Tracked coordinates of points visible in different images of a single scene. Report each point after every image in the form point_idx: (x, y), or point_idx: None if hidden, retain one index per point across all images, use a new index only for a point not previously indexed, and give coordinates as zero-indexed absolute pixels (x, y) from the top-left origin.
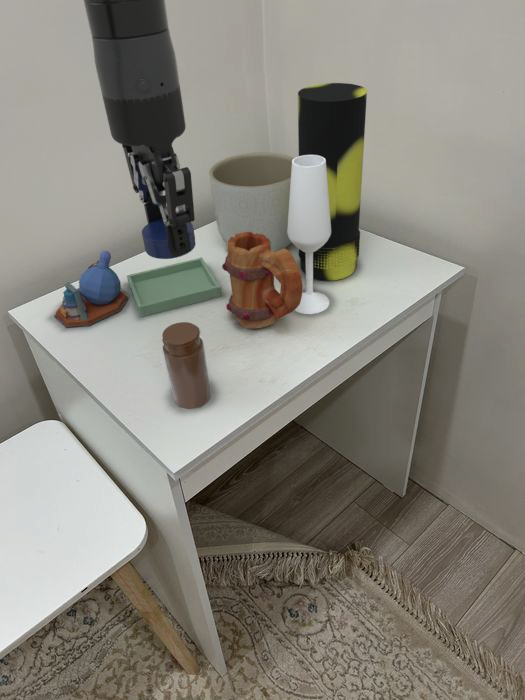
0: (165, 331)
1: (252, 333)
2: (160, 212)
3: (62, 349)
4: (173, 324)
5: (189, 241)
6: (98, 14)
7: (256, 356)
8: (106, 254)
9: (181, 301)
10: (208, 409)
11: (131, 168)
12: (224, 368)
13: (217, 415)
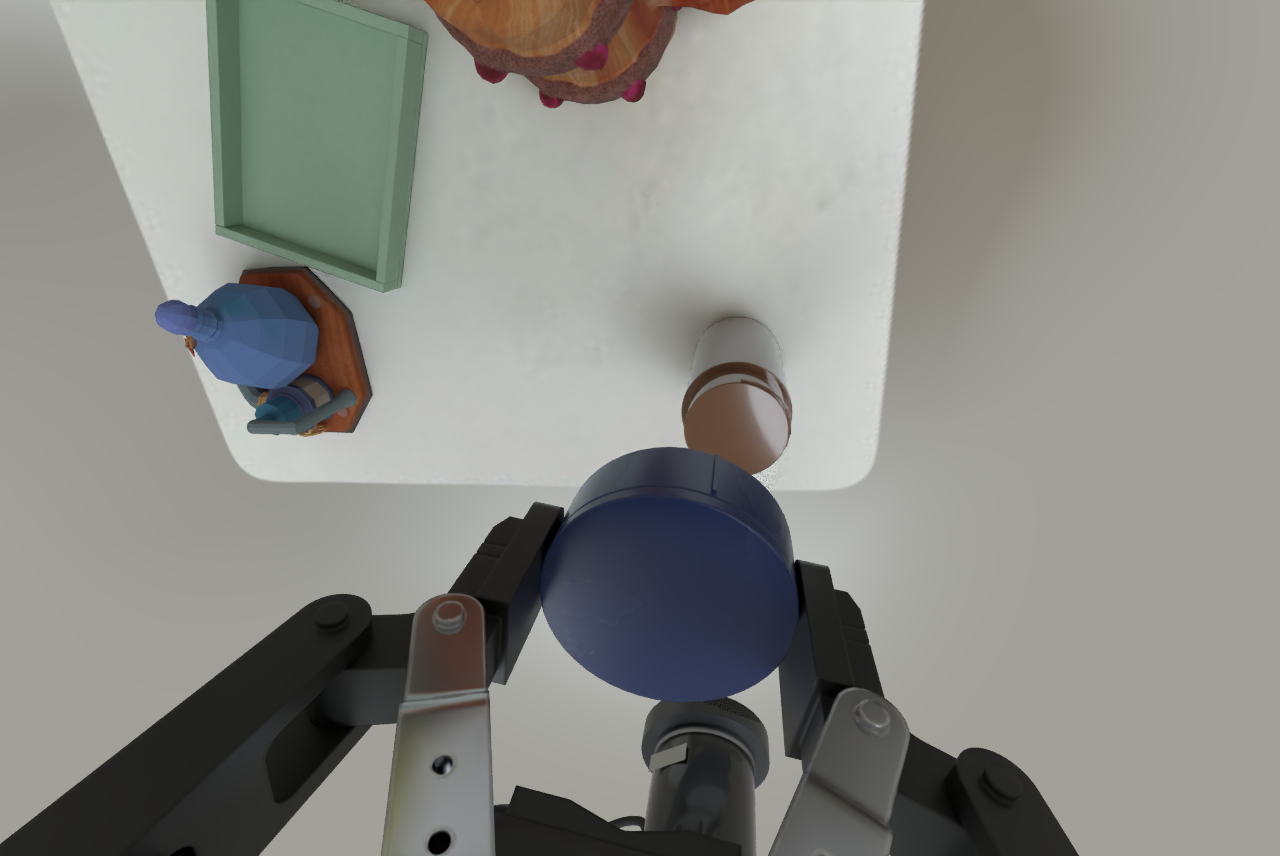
0: None
1: (649, 81)
2: (530, 586)
3: (422, 468)
4: (688, 423)
5: (790, 551)
6: None
7: (739, 144)
8: (177, 320)
9: (404, 170)
10: (798, 358)
11: (255, 853)
12: (714, 245)
13: (828, 355)
